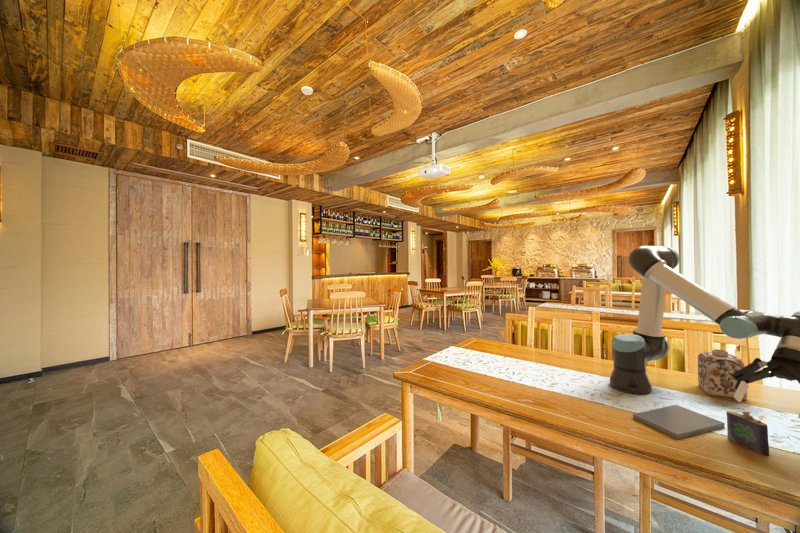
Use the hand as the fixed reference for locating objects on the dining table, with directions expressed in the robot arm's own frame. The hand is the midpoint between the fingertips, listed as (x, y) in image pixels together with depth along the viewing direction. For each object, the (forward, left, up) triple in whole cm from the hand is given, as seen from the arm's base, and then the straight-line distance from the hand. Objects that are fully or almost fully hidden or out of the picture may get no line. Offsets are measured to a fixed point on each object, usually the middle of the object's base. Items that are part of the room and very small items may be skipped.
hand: (767, 408), depth 90 cm
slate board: (-17, -11, -11) cm, 23 cm away
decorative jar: (-28, +33, -11) cm, 45 cm away
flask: (-1, -7, -11) cm, 13 cm away
